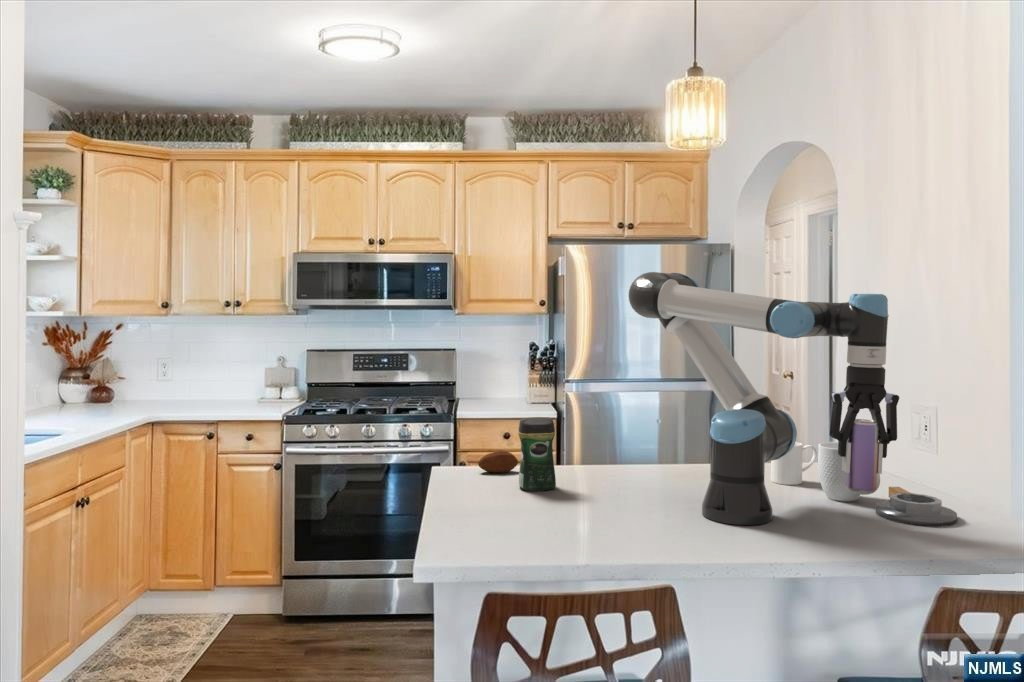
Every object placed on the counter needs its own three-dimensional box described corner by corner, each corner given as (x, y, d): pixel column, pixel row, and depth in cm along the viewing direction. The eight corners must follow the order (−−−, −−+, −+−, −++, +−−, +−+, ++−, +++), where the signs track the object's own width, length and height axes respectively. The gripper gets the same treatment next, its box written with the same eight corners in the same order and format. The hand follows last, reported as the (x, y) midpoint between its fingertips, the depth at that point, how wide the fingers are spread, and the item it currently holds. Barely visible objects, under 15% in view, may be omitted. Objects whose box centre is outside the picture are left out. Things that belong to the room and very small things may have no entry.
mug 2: (891, 503, 175) (892, 449, 174) (865, 510, 169) (866, 454, 168) (834, 490, 187) (835, 440, 187) (808, 496, 181) (808, 444, 180)
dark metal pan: (894, 525, 156) (894, 507, 156) (859, 502, 175) (859, 486, 175) (972, 527, 155) (972, 508, 155) (928, 503, 174) (928, 487, 174)
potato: (476, 471, 211) (476, 448, 211) (515, 469, 213) (515, 447, 213) (479, 475, 205) (479, 452, 205) (519, 473, 208) (519, 451, 207)
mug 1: (779, 485, 192) (779, 446, 192) (765, 479, 200) (766, 441, 200) (823, 484, 194) (823, 445, 193) (808, 477, 202) (808, 440, 201)
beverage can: (862, 494, 154) (865, 424, 153) (839, 487, 160) (842, 419, 159) (882, 491, 156) (885, 422, 156) (859, 485, 162) (862, 418, 161)
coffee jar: (552, 483, 195) (552, 414, 194) (558, 491, 187) (558, 419, 186) (516, 485, 194) (516, 415, 193) (520, 492, 186) (520, 420, 185)
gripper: (826, 366, 154) (822, 474, 155) (920, 368, 152) (914, 477, 153) (814, 363, 161) (810, 466, 162) (903, 364, 160) (898, 469, 161)
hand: (861, 471), depth 158 cm, fingers closed on beverage can, 6 cm apart
